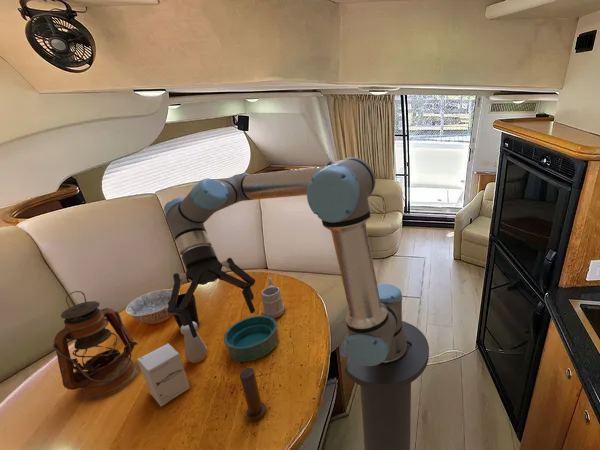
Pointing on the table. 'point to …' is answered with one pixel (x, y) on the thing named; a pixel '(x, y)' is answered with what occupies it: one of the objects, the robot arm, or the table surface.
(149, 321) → the bowl
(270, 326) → the teal bowl
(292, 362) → the table surface
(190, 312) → the cup
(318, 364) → the table surface
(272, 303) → the mug
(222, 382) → the table surface
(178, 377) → the white packaging box
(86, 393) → the lantern
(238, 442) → the table surface
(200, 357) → the salt shaker
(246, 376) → the walnut stirrer
